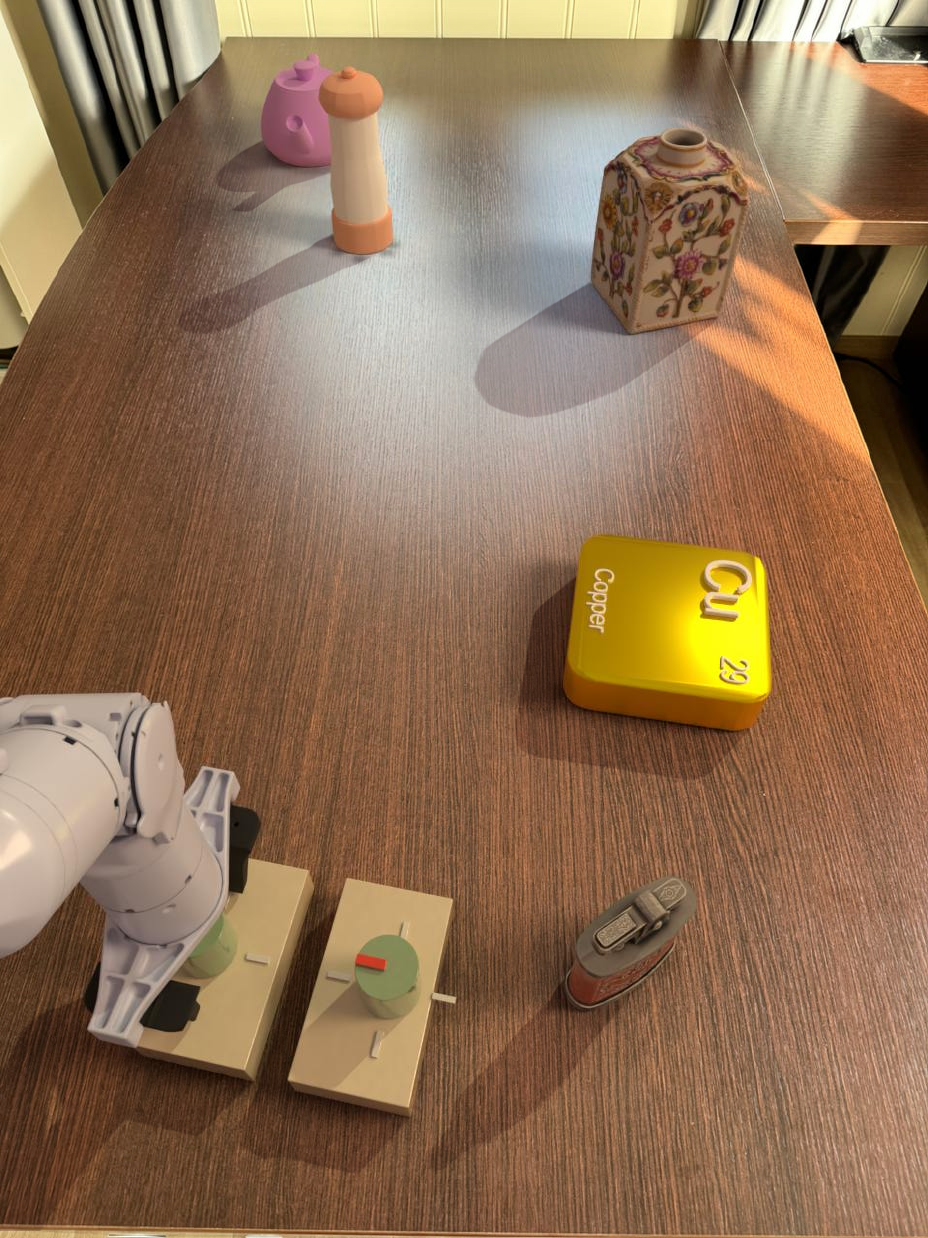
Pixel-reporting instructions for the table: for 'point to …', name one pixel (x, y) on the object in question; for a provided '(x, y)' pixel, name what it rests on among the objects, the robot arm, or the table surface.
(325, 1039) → the dial knob base
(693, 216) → the decorative jar
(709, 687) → the element tile
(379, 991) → the knob
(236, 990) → the tan base plate
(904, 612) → the table surface
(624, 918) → the lighter
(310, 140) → the teapot
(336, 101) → the pepper shaker
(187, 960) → the green dial knob
